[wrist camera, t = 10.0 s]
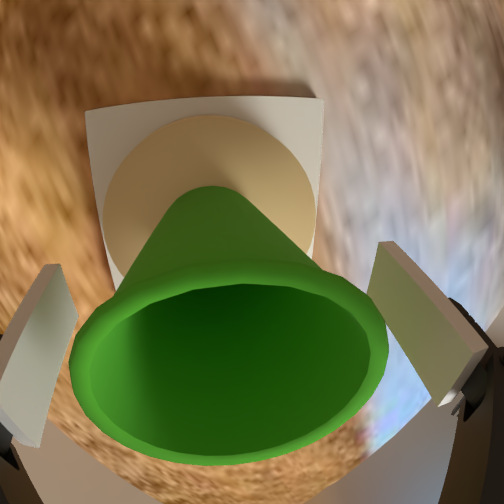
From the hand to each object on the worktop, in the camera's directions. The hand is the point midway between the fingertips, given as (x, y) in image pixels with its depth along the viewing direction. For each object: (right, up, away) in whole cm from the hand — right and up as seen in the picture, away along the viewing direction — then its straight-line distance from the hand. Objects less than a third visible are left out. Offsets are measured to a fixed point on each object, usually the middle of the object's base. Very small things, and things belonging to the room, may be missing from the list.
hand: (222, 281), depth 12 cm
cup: (-1, +2, +5) cm, 6 cm away
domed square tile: (-2, +4, +8) cm, 9 cm away
